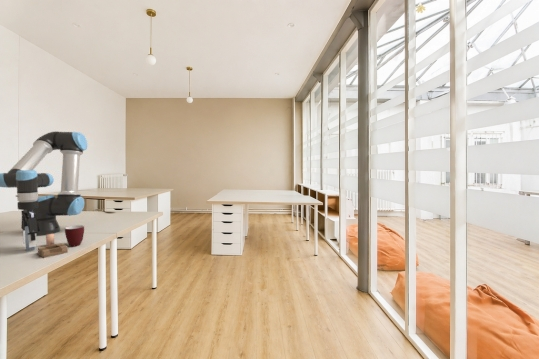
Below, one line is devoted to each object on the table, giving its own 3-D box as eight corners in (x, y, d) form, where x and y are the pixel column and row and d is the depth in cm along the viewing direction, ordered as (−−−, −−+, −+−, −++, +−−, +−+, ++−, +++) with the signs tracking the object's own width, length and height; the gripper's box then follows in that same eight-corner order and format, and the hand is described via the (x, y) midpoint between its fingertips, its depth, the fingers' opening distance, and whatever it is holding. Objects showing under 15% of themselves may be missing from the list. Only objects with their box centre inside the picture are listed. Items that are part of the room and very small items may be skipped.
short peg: (45, 245, 133) (45, 234, 132) (53, 244, 136) (52, 233, 135) (47, 246, 131) (47, 235, 131) (55, 245, 134) (54, 234, 133)
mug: (64, 244, 136) (64, 225, 135) (83, 241, 142) (82, 223, 141) (66, 249, 128) (65, 229, 128) (85, 245, 134) (84, 227, 133)
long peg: (25, 249, 126) (23, 226, 125) (33, 248, 129) (32, 225, 128) (26, 251, 124) (25, 227, 124) (35, 249, 127) (34, 226, 126)
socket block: (37, 253, 121) (37, 247, 121) (61, 248, 129) (60, 243, 128) (43, 257, 116) (43, 251, 116) (67, 252, 124) (67, 246, 123)
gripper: (11, 199, 128) (14, 242, 130) (23, 204, 116) (26, 251, 117) (31, 198, 134) (33, 238, 136) (44, 202, 122) (46, 247, 123)
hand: (30, 244), depth 127 cm, fingers open, 9 cm apart
